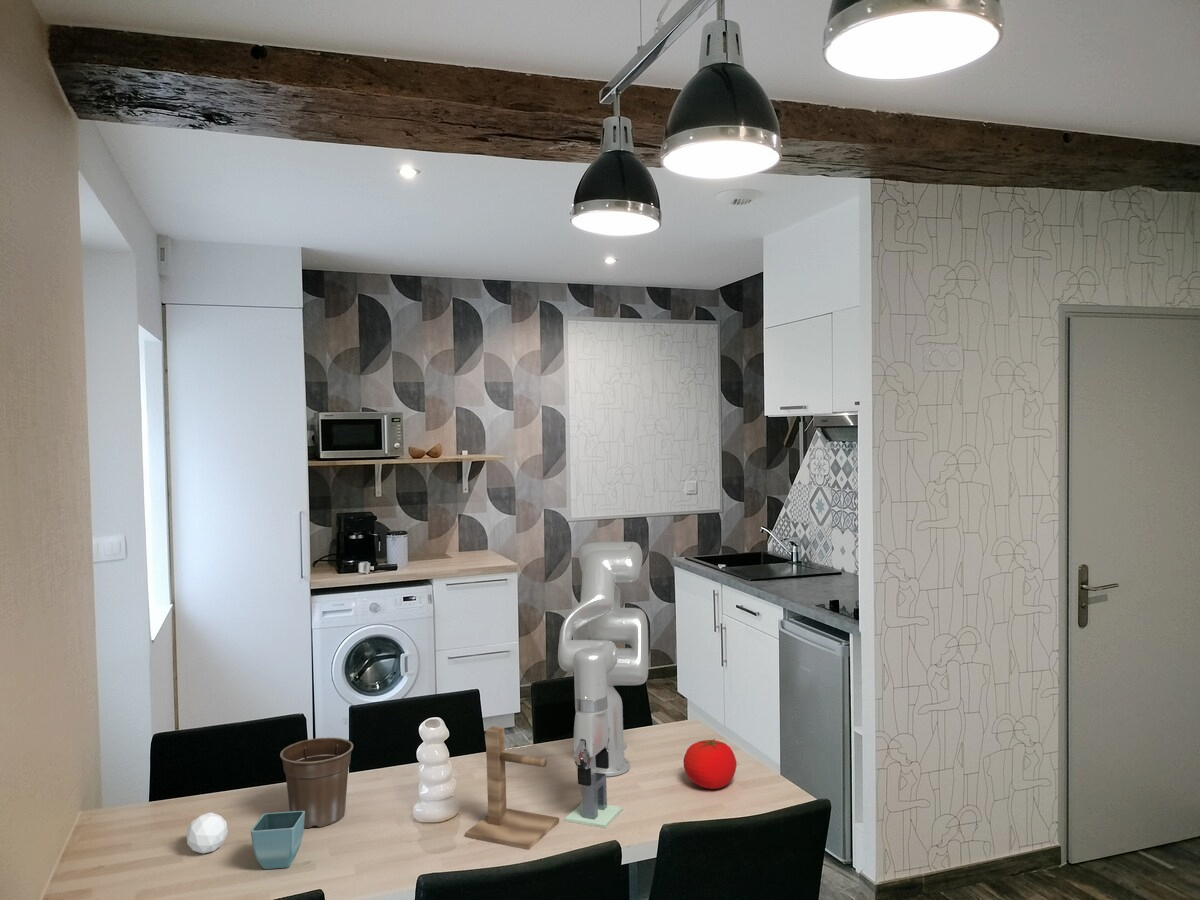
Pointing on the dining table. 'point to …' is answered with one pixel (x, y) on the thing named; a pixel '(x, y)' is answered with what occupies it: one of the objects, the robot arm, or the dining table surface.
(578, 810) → the mat
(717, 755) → the tomato
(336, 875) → the dining table surface
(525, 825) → the stand
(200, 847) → the white faceted egg
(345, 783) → the plant pot
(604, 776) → the link
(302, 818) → the flower pot
